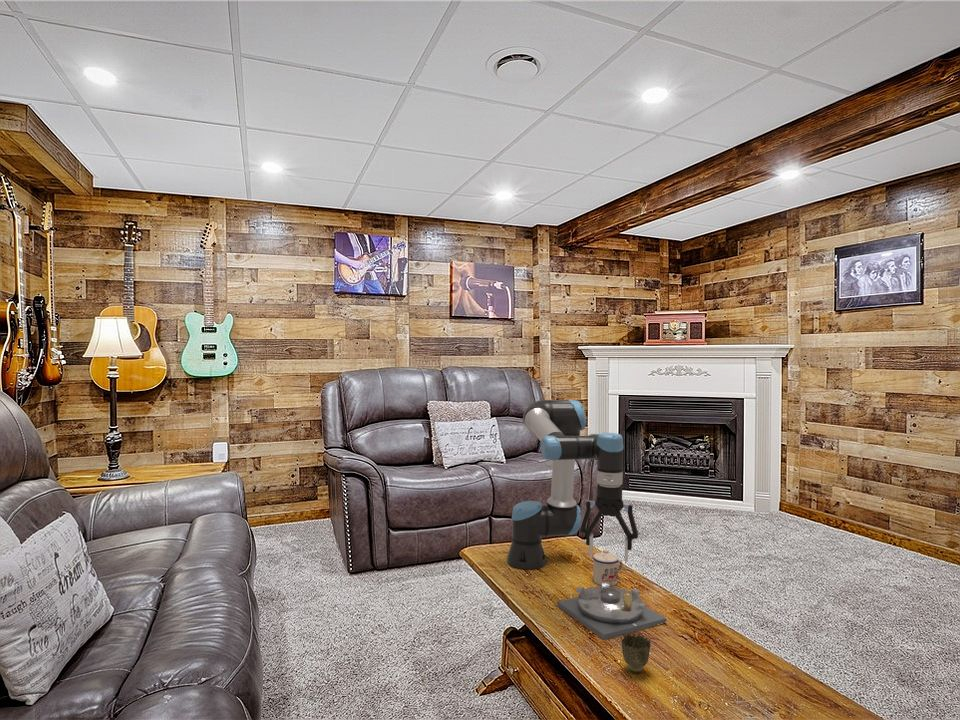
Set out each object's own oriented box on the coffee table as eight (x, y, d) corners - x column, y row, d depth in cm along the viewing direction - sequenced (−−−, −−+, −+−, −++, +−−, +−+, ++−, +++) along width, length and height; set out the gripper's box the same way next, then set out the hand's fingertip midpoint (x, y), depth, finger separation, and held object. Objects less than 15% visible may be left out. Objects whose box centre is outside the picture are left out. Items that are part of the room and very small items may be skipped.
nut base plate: (557, 605, 185) (557, 600, 185) (615, 592, 195) (615, 587, 195) (603, 639, 163) (604, 634, 163) (666, 623, 174) (666, 617, 174)
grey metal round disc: (562, 602, 183) (562, 577, 183) (616, 590, 193) (616, 566, 193) (602, 630, 165) (603, 603, 165) (660, 615, 175) (660, 589, 175)
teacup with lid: (602, 588, 199) (603, 555, 199) (587, 578, 207) (588, 547, 207) (630, 583, 204) (630, 551, 203) (614, 574, 212) (614, 543, 212)
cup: (628, 659, 153) (628, 630, 153) (654, 669, 148) (655, 639, 148) (615, 671, 147) (616, 640, 147) (642, 682, 143) (643, 650, 142)
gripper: (570, 484, 171) (569, 557, 171) (647, 490, 164) (646, 567, 164) (574, 479, 178) (573, 549, 179) (648, 485, 171) (647, 558, 171)
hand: (608, 558), depth 171 cm, fingers open, 10 cm apart
